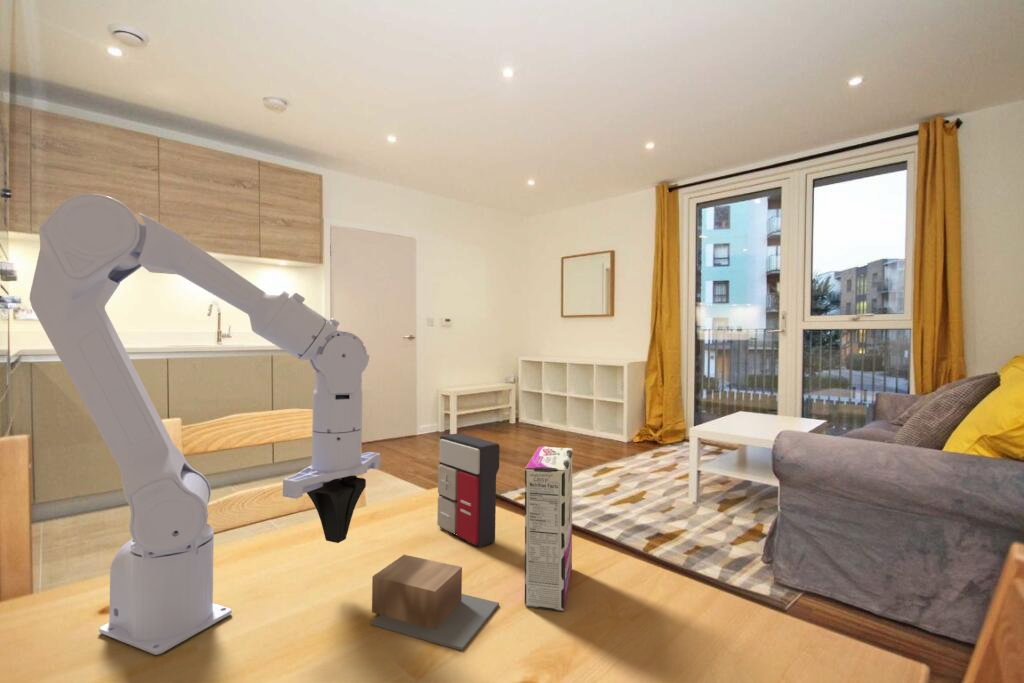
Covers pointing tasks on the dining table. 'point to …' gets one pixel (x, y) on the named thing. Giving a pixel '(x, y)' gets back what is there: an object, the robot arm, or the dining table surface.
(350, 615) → the dining table surface
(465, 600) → the mat
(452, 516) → the calculator
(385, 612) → the walnut block
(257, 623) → the dining table surface
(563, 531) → the candy bar box
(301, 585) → the dining table surface
